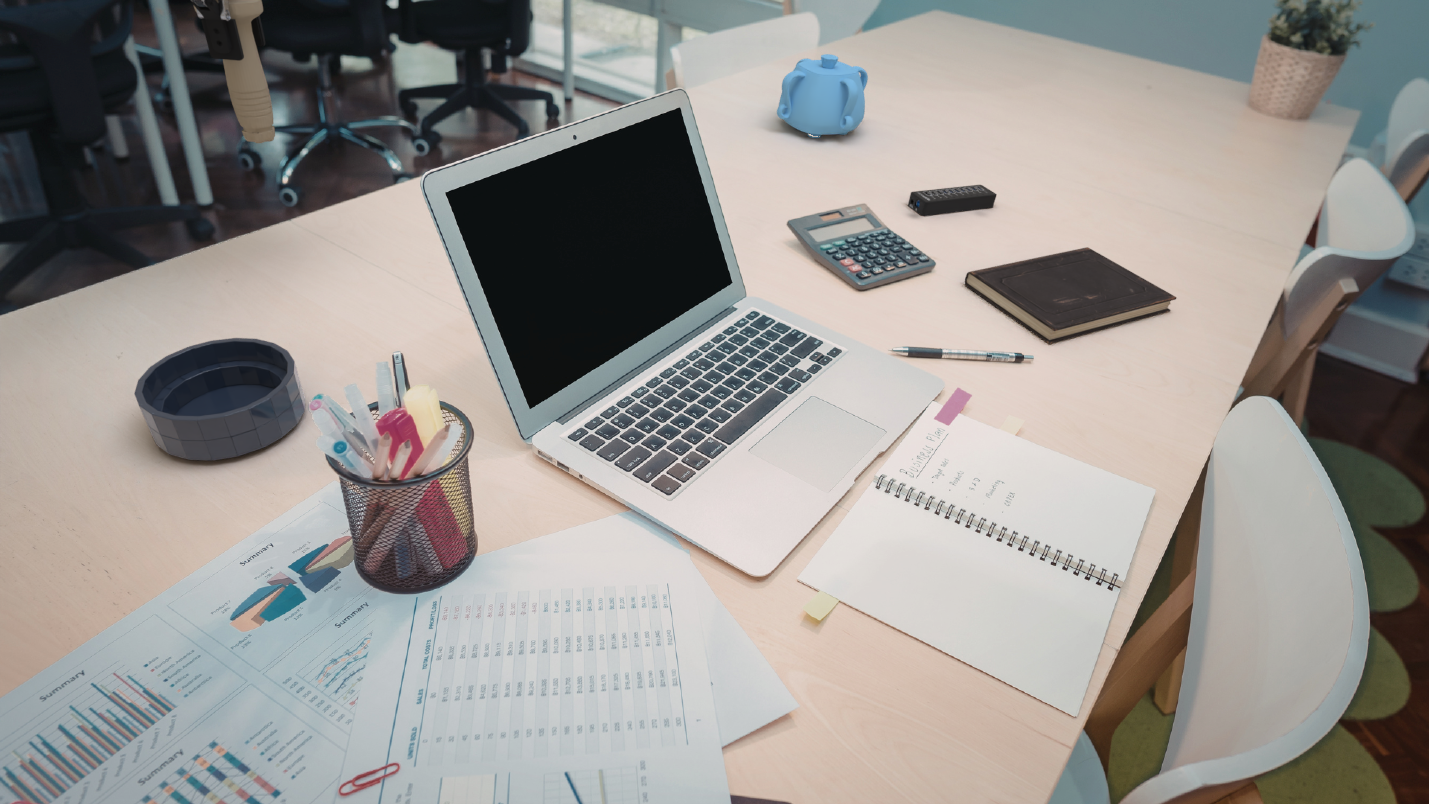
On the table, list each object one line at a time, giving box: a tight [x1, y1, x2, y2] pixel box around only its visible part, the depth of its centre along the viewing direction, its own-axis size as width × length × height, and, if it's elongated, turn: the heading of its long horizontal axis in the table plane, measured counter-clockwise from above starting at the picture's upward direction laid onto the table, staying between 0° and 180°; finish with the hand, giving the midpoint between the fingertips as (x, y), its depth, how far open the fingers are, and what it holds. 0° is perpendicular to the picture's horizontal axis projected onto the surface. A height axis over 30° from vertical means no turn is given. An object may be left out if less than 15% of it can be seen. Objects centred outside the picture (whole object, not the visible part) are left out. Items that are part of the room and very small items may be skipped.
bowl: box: [134, 337, 306, 461], centre depth 76 cm, size 13×13×5 cm
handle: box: [193, 0, 276, 144], centre depth 90 cm, size 5×6×15 cm
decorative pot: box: [776, 53, 869, 139], centre depth 155 cm, size 16×16×14 cm
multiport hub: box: [907, 184, 997, 217], centre depth 132 cm, size 4×14×2 cm, turn 113°
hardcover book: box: [964, 246, 1178, 345], centre depth 110 cm, size 16×23×2 cm
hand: (239, 49), depth 88 cm, fingers closed on handle, 5 cm apart
